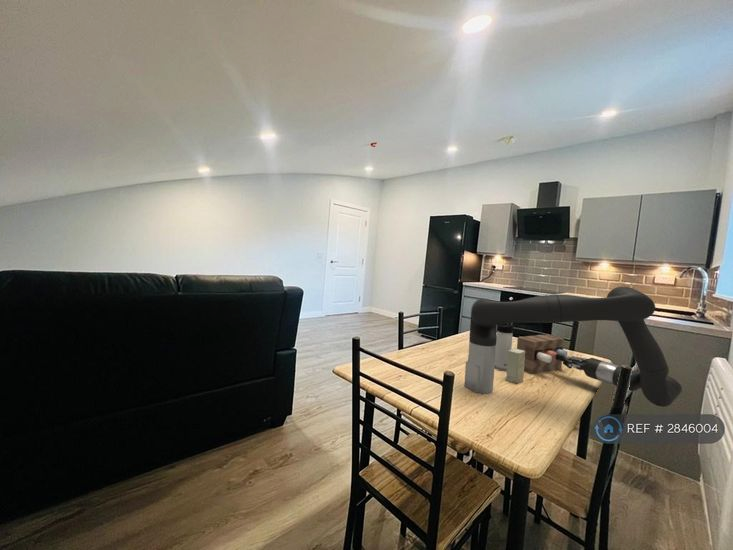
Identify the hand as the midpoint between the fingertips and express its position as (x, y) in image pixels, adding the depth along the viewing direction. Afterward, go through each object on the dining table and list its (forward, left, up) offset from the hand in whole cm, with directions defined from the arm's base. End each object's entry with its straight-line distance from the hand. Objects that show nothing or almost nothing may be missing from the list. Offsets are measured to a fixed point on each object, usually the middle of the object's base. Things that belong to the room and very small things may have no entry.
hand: (556, 356), depth 124 cm
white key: (-7, +1, -2) cm, 7 cm away
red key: (0, +3, -2) cm, 3 cm away
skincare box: (-23, +2, -8) cm, 24 cm away
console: (0, +8, -8) cm, 11 cm away
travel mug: (-17, +12, -8) cm, 23 cm away
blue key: (+7, +3, -2) cm, 8 cm away
